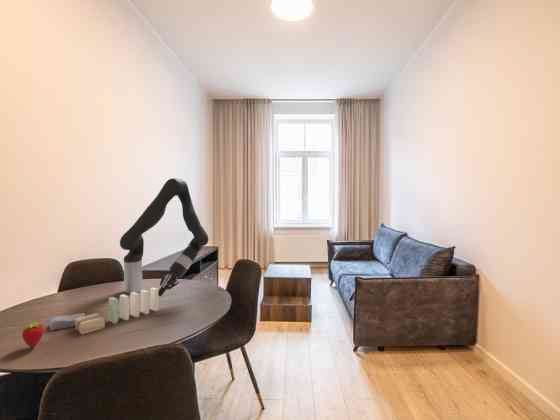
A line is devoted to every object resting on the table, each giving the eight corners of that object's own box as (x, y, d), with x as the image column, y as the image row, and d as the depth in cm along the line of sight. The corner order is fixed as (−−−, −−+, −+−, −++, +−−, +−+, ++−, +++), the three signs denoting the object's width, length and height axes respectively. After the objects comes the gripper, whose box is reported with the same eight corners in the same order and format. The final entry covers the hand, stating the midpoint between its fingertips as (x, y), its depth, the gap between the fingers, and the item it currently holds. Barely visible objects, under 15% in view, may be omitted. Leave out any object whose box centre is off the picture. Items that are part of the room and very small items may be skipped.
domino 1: (113, 323, 125) (113, 299, 125) (109, 320, 128) (108, 297, 128) (117, 322, 126) (117, 299, 126) (113, 319, 129) (112, 296, 129)
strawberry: (44, 341, 109) (44, 314, 109) (43, 349, 103) (43, 320, 103) (23, 345, 106) (22, 317, 106) (21, 354, 100) (20, 324, 99)
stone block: (53, 327, 126) (48, 331, 117) (53, 315, 127) (49, 319, 118) (86, 323, 131) (84, 326, 123) (87, 311, 132) (84, 314, 124)
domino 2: (125, 320, 128) (124, 297, 128) (120, 317, 131) (119, 295, 131) (128, 319, 129) (128, 296, 129) (124, 316, 133) (123, 294, 132)
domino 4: (145, 314, 135) (145, 292, 135) (140, 311, 138) (140, 290, 138) (149, 313, 136) (148, 291, 136) (144, 310, 140) (143, 289, 139)
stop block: (75, 328, 120) (75, 318, 120) (97, 322, 126) (97, 313, 126) (82, 334, 115) (81, 324, 115) (104, 327, 121) (104, 317, 121)
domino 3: (135, 317, 132) (135, 294, 131) (130, 314, 135) (130, 292, 135) (139, 316, 133) (138, 293, 133) (134, 313, 136) (133, 291, 136)
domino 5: (155, 311, 139) (155, 290, 138) (150, 309, 142) (149, 288, 142) (158, 310, 140) (158, 289, 140) (153, 308, 143) (153, 287, 143)
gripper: (169, 259, 153) (146, 288, 144) (183, 262, 145) (160, 293, 136) (178, 268, 158) (156, 296, 149) (193, 271, 149) (170, 302, 140)
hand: (158, 295), depth 142 cm, fingers closed
